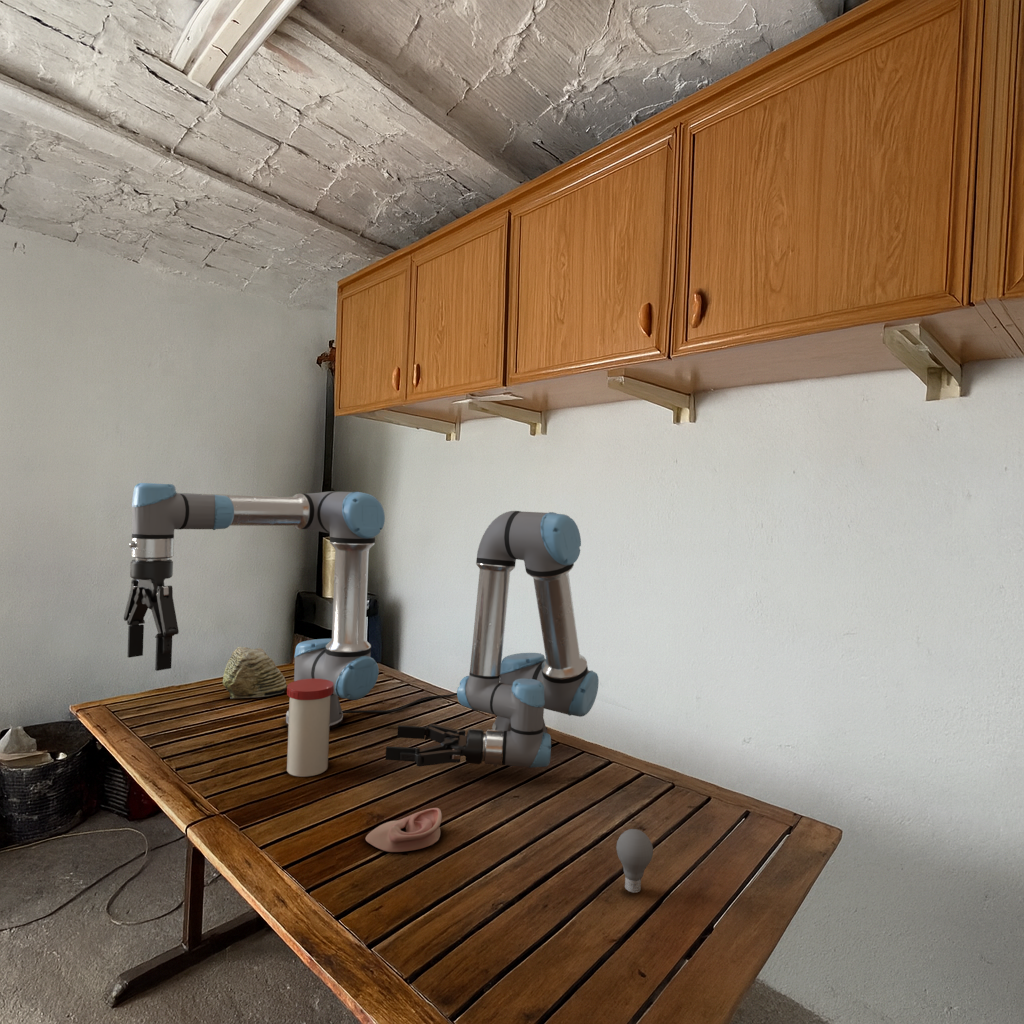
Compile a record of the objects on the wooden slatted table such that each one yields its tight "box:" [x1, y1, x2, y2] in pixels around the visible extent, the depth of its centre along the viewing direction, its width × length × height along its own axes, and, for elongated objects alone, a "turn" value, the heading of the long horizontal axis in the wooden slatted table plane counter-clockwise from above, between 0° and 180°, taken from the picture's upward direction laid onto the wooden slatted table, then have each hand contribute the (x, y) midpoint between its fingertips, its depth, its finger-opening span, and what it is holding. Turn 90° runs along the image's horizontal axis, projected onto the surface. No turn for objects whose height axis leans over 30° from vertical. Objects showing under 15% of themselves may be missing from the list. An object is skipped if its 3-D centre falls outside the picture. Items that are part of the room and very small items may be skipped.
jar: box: [286, 695, 331, 778], centre depth 147 cm, size 9×9×19 cm
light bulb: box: [615, 828, 654, 894], centre depth 106 cm, size 6×6×10 cm
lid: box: [286, 679, 334, 700], centre depth 147 cm, size 10×10×2 cm
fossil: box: [222, 646, 288, 699], centre depth 198 cm, size 9×18×15 cm, turn 132°
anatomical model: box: [364, 807, 443, 853], centre depth 119 cm, size 13×4×12 cm
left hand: (148, 662), depth 129 cm, fingers open, 13 cm apart
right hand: (392, 741), depth 147 cm, fingers open, 13 cm apart
